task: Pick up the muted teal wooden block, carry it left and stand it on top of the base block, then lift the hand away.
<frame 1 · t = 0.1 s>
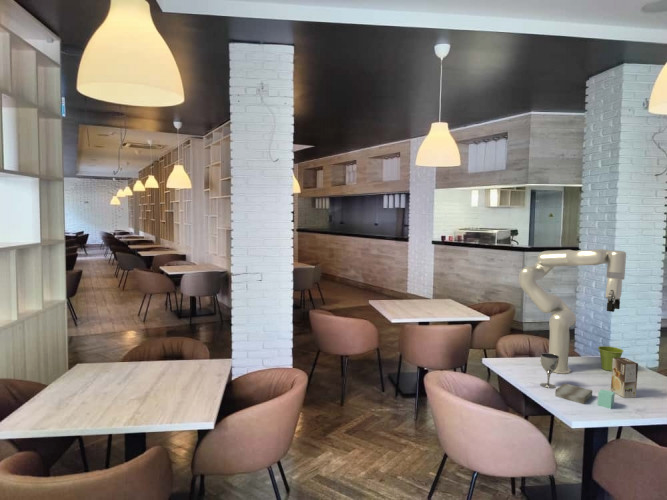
hand: (613, 310, 223), 37 cm above the table, tool pointing down, fingers open, 9 cm apart
wine glass: (548, 386, 220), on the table
teal block: (605, 405, 198), on the table
plant pot: (609, 369, 246), on the table
base block: (573, 396, 207), on the table
coffee box: (622, 394, 211), on the table
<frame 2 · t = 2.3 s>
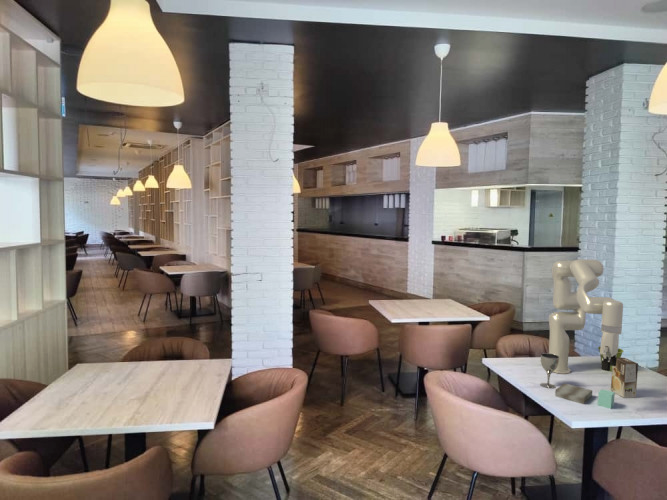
hand: (608, 367, 196), 17 cm above the table, tool pointing down, fingers open, 9 cm apart
nothing on the table moved.
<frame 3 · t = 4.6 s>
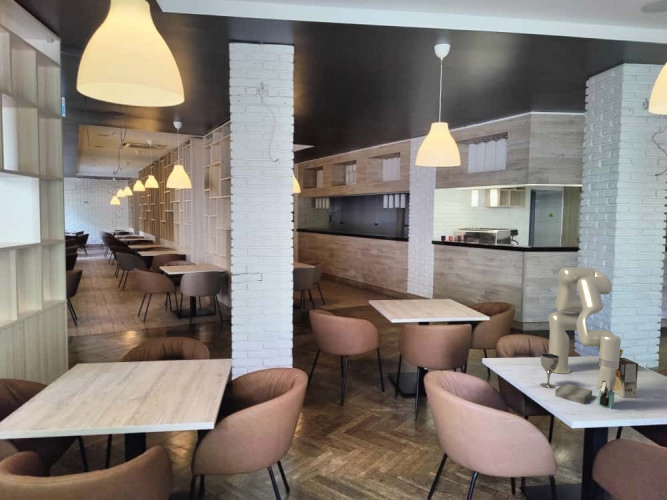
hand: (605, 403, 198), 1 cm above the table, tool pointing down, fingers closed on teal block, 4 cm apart
teal block: (605, 405, 198), on the table, touching gripper
everything else where it was.
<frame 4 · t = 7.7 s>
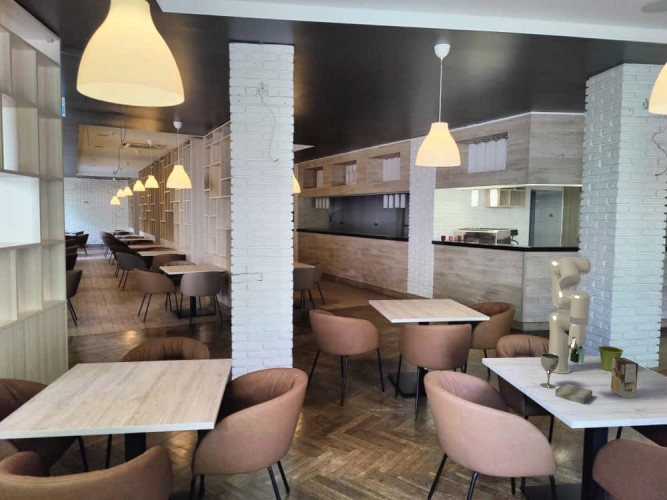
hand: (576, 359, 206), 17 cm above the table, tool pointing down, fingers closed on teal block, 4 cm apart
teal block: (576, 361, 206), point 16 cm above the table, touching gripper
everything else where it was.
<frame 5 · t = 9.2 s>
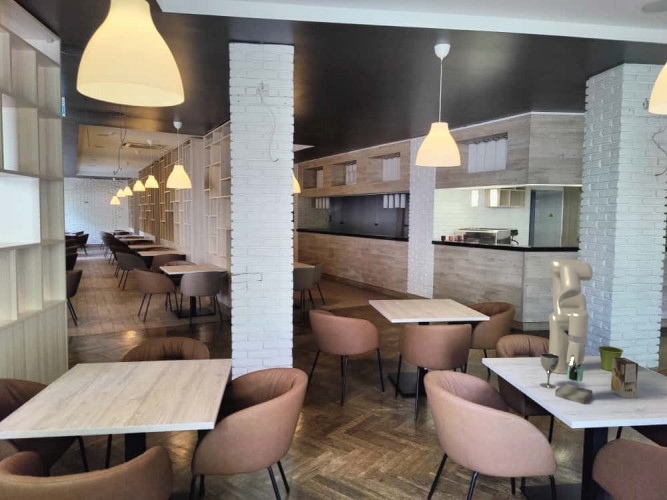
hand: (575, 377, 206), 9 cm above the table, tool pointing down, fingers closed on teal block, 4 cm apart
teal block: (574, 379, 206), point 8 cm above the table, touching gripper
everything else where it was.
when the fingers open (5 cm above the table, at t = 10.7 s): teal block drops 1 cm, resting on base block.
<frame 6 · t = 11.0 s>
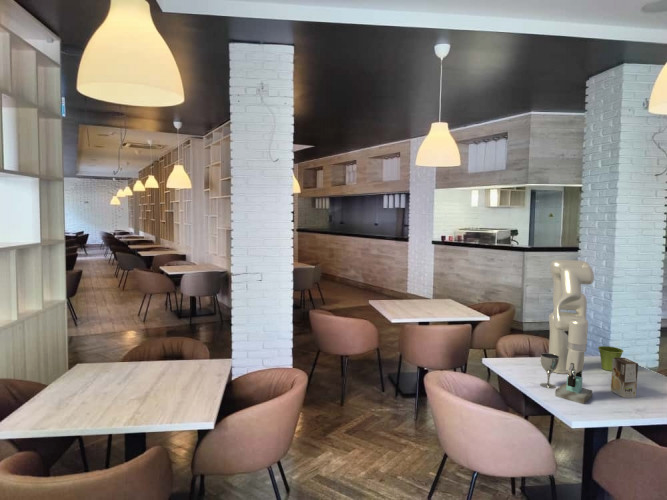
hand: (574, 383, 206), 6 cm above the table, tool pointing down, fingers open, 8 cm apart
teal block: (574, 390, 207), point 3 cm above the table, touching base block
everything else where it was.
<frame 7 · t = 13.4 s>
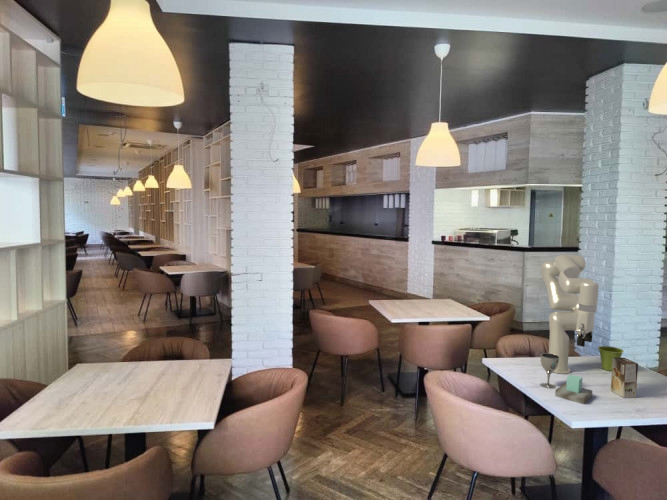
hand: (584, 343, 212), 23 cm above the table, tool pointing down, fingers open, 9 cm apart
nothing on the table moved.
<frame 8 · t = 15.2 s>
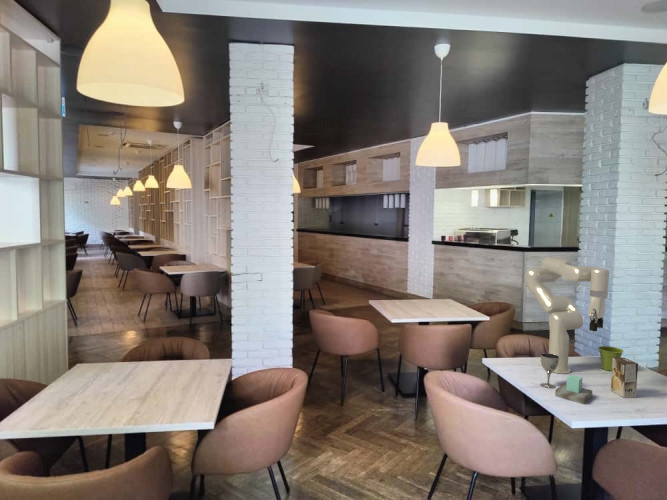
hand: (596, 329, 218), 28 cm above the table, tool pointing down, fingers open, 9 cm apart
nothing on the table moved.
at the end: teal block inside the target area on the base block (0.1 cm from its centre), point 3.0 cm above the base block's base; teal block tilted 0°; the gripper is holding nothing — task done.
